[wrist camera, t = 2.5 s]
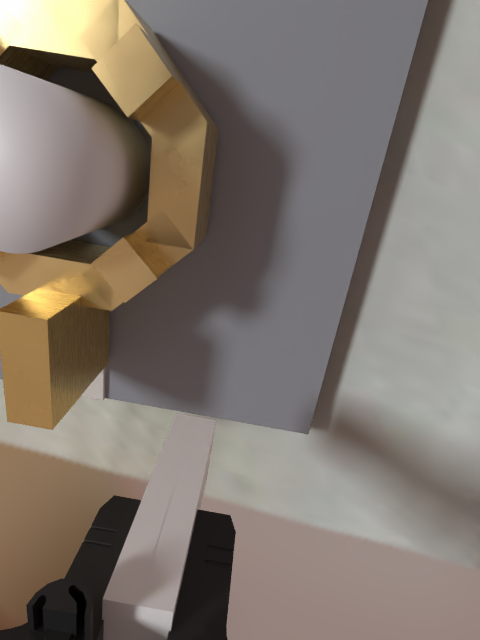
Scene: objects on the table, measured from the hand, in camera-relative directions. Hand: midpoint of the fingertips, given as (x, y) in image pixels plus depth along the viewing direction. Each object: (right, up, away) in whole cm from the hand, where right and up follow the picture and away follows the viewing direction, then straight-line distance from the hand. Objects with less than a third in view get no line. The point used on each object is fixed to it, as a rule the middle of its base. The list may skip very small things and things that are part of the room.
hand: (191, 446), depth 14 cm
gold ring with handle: (-5, +9, +3) cm, 11 cm away
